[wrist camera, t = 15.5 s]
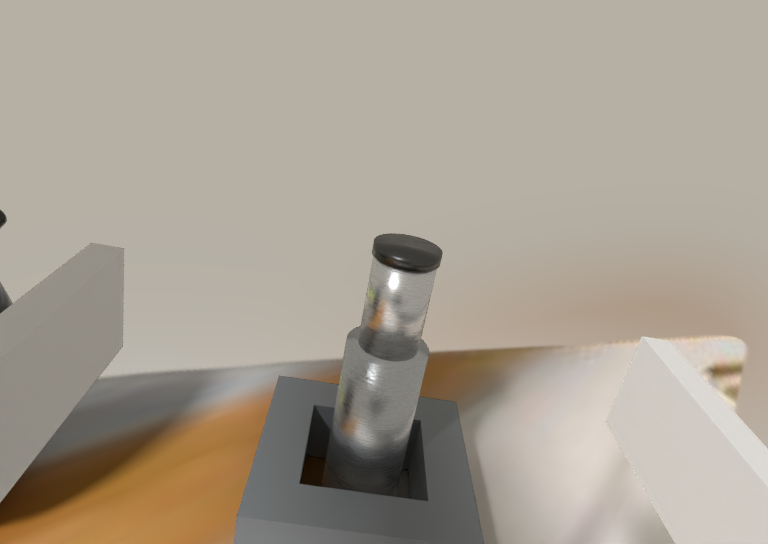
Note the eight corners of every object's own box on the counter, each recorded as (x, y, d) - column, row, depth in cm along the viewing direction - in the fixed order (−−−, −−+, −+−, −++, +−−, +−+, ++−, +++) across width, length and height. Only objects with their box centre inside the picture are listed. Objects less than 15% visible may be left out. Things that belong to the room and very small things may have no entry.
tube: (315, 527, 32) (362, 255, 26) (322, 471, 36) (365, 224, 30) (392, 537, 33) (457, 270, 26) (391, 480, 37) (447, 238, 30)
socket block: (230, 576, 29) (236, 516, 27) (273, 424, 40) (279, 375, 38) (466, 605, 29) (484, 549, 28) (443, 448, 40) (456, 401, 39)
